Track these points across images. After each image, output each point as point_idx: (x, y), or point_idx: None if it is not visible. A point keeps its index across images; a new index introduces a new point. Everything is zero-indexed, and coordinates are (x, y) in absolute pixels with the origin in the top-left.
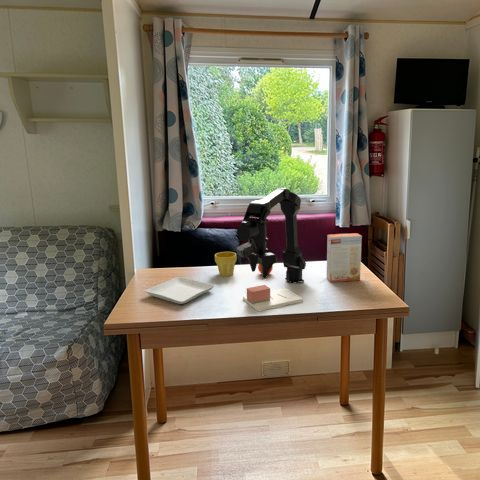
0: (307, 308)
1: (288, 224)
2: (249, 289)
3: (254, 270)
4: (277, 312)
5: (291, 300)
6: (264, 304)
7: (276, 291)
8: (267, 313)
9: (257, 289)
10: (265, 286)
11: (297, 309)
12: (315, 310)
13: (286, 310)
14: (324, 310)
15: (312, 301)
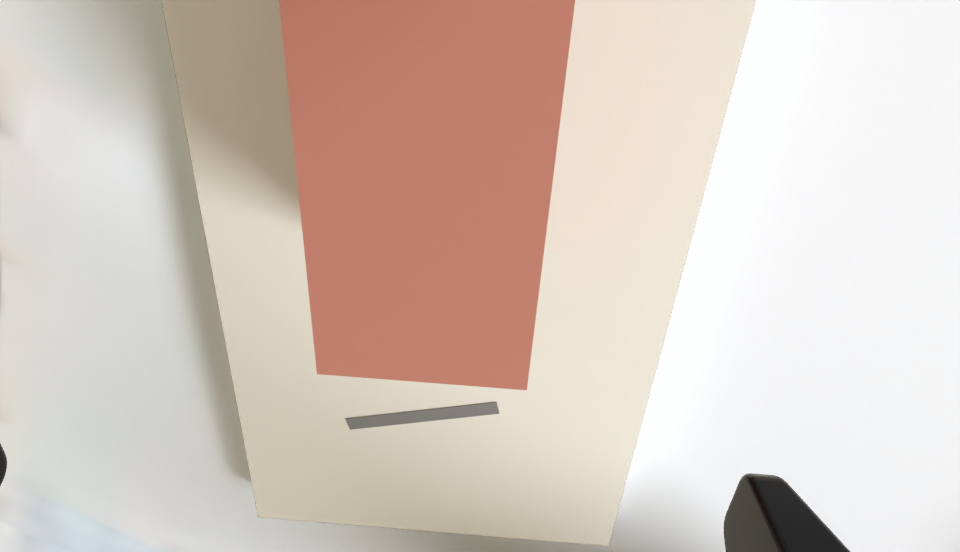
0: (89, 439)
1: None
2: (460, 17)
3: (732, 542)
4: (55, 146)
5: (254, 425)
6: (256, 106)
7: (586, 442)
8: (49, 9)
9: (370, 171)
10: (441, 360)
11: (89, 363)
12: (25, 462)
13: (90, 264)
14: (10, 508)
15: (236, 540)
